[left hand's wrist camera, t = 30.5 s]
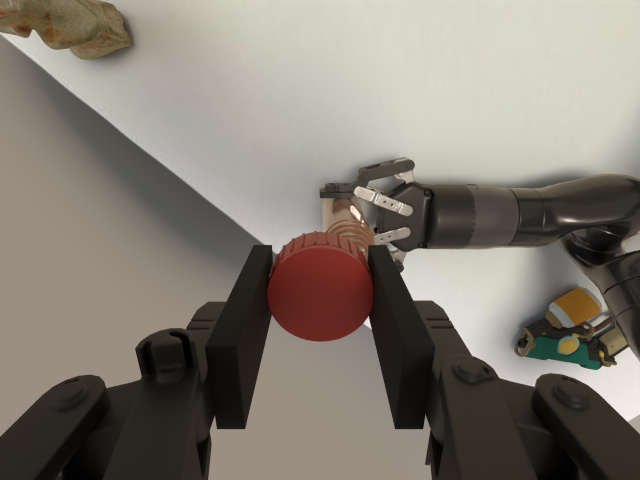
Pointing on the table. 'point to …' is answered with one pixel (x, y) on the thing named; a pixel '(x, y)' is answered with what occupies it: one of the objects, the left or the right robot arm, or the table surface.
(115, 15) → the sculpture
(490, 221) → the right robot arm
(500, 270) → the table surface
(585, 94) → the table surface
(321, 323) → the cap
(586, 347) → the spray gun
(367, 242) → the bottle
